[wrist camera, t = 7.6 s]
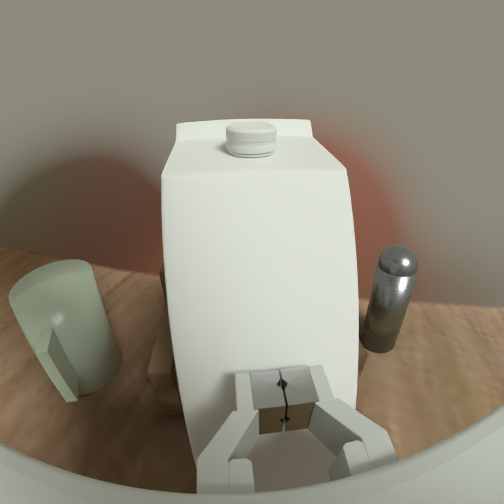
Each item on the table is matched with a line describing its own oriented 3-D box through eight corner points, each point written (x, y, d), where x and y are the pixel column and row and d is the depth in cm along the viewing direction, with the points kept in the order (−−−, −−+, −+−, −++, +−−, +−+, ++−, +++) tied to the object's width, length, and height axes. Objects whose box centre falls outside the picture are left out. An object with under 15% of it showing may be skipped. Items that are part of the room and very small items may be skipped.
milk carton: (209, 432, 16) (185, 149, 17) (310, 421, 17) (294, 145, 17) (205, 503, 9) (164, 87, 10) (346, 482, 10) (331, 86, 10)
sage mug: (45, 422, 14) (-14, 338, 11) (54, 344, 23) (23, 269, 19) (129, 411, 17) (84, 321, 14) (119, 331, 26) (95, 252, 22)
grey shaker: (368, 356, 22) (394, 257, 18) (354, 331, 26) (372, 238, 22) (400, 348, 23) (430, 254, 19) (385, 326, 26) (406, 237, 22)
